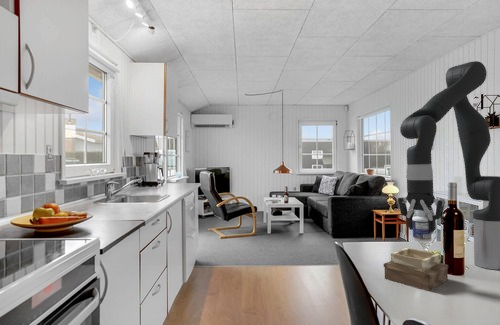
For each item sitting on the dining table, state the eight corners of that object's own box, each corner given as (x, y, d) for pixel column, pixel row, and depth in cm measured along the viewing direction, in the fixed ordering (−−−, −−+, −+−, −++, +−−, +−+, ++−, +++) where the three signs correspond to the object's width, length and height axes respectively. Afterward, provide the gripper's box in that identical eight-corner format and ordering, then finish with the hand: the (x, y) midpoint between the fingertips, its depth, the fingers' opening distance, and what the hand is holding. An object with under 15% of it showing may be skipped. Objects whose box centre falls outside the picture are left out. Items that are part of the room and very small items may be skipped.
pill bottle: (414, 237, 107) (413, 208, 107) (432, 239, 104) (431, 209, 104) (411, 240, 103) (410, 210, 103) (430, 242, 100) (429, 211, 100)
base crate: (404, 269, 116) (404, 255, 116) (448, 280, 105) (448, 265, 105) (383, 278, 108) (383, 263, 108) (429, 291, 96) (428, 274, 96)
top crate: (407, 257, 114) (406, 247, 114) (440, 264, 105) (440, 254, 105) (391, 263, 107) (390, 253, 107) (425, 272, 99) (425, 260, 99)
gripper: (448, 178, 100) (450, 231, 100) (402, 177, 111) (404, 225, 111) (439, 179, 96) (441, 236, 96) (392, 178, 107) (393, 229, 107)
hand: (421, 230), depth 103 cm, fingers closed on pill bottle, 5 cm apart
